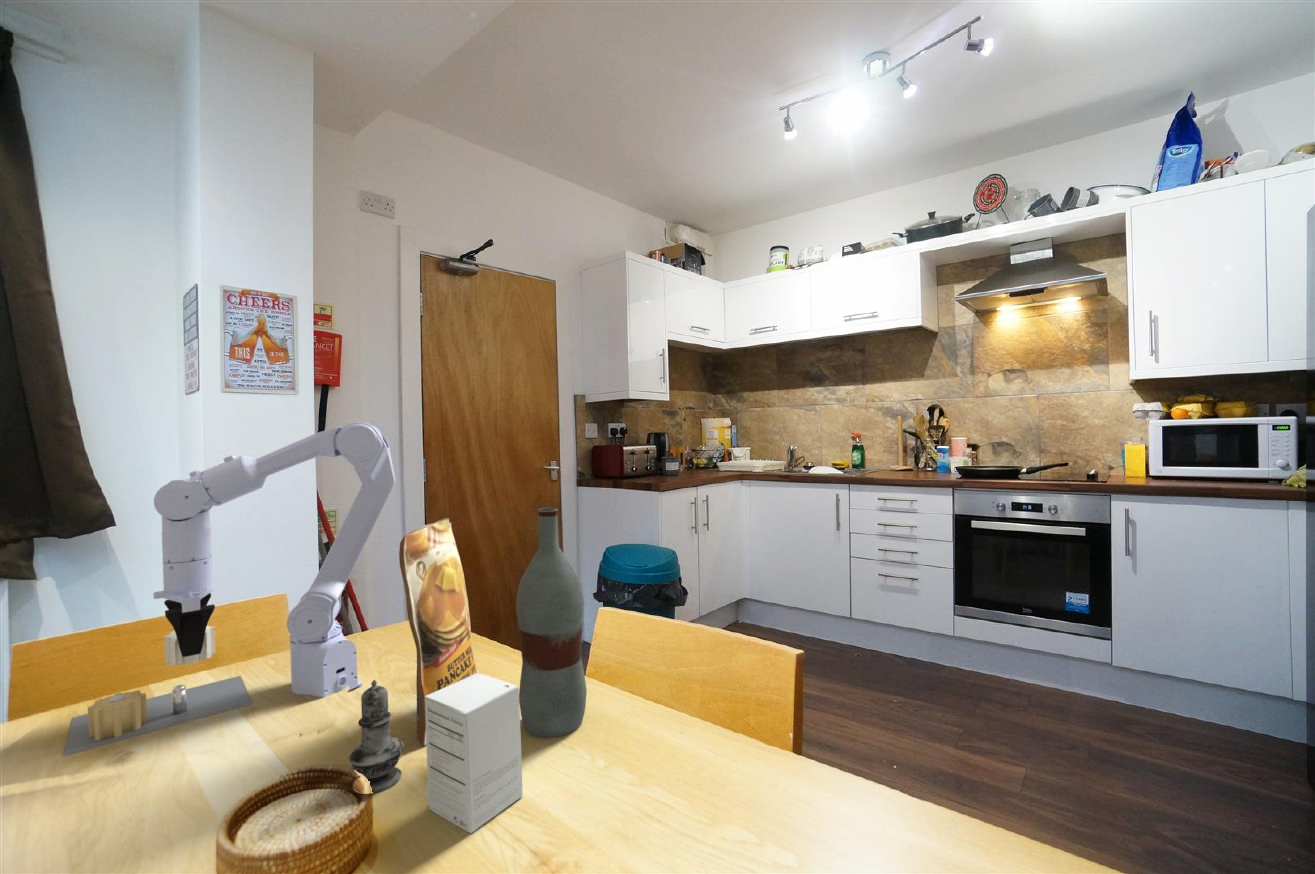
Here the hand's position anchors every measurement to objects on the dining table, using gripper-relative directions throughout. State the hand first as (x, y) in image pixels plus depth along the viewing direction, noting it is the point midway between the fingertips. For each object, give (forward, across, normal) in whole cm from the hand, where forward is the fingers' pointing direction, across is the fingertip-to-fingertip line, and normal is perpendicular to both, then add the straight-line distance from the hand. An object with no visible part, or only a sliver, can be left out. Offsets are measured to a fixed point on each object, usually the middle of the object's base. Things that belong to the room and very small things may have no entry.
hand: (190, 648), depth 87 cm
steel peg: (+9, +2, -2) cm, 10 cm away
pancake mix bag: (+10, +29, +28) cm, 41 cm away
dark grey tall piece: (+10, +39, +16) cm, 43 cm away
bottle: (+10, +42, +38) cm, 57 cm away
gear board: (+10, -1, -3) cm, 10 cm away
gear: (+1, 0, 0) cm, 1 cm away
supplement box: (+10, +51, +22) cm, 56 cm away
